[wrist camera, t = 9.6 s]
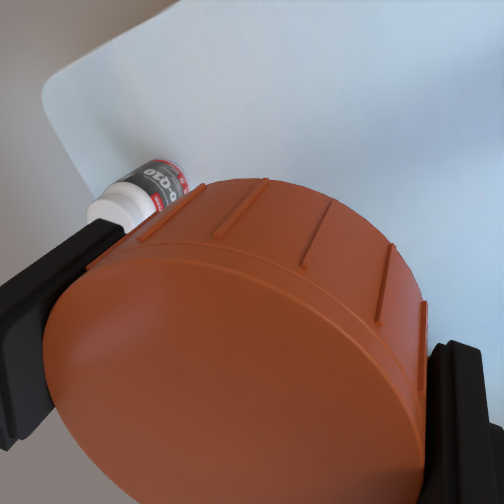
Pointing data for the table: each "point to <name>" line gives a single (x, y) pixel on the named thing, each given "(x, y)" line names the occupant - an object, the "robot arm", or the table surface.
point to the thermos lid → (246, 354)
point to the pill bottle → (140, 194)
